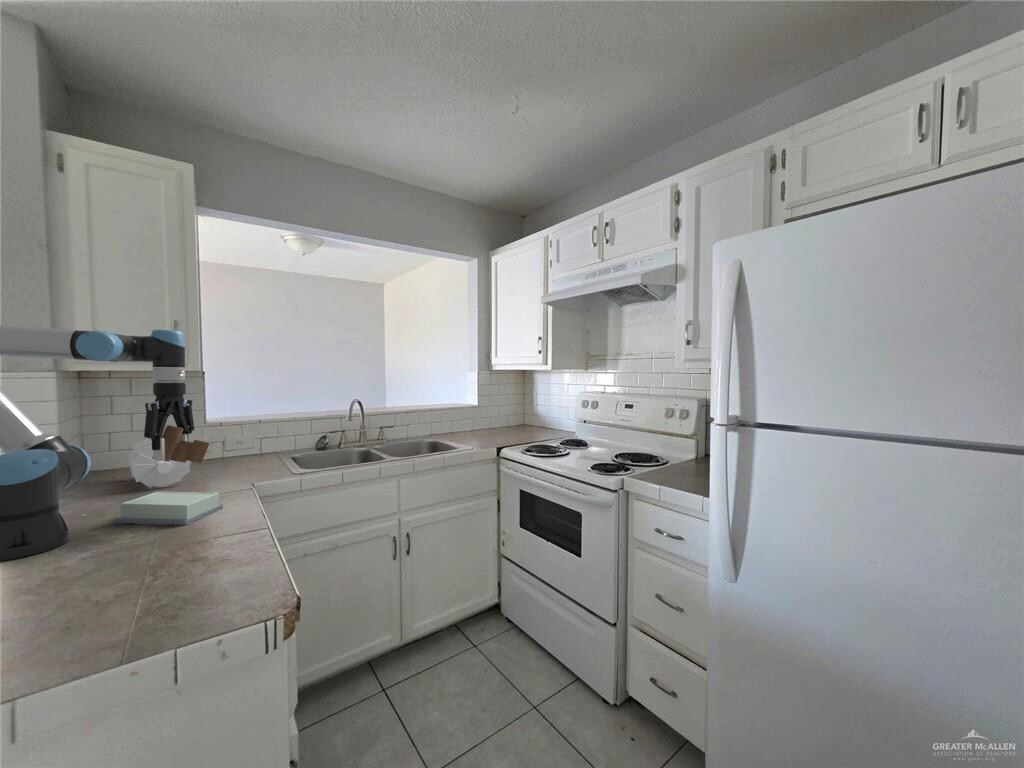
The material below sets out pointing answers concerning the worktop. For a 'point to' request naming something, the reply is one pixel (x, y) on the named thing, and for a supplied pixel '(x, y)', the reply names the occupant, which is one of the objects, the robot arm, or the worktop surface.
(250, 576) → the worktop surface
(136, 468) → the spiral staircase
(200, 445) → the wooden block set
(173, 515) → the base
